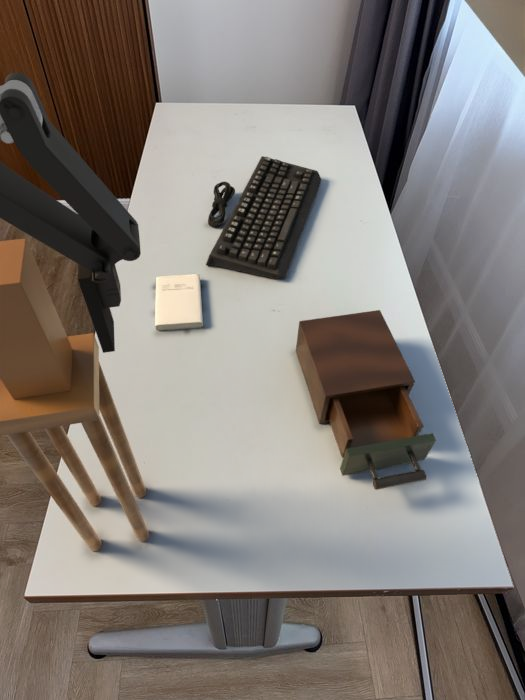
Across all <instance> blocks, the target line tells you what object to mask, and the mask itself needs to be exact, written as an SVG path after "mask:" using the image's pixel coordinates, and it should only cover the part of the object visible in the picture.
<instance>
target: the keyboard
mask: <svg viewBox="0 0 525 700" xmlns="http://www.w3.org/2000/svg"><path fill="white" fill-rule="evenodd" d="M321 183H322V178H321V176H320V173H319V171H318V170H316V169H312V168H307V167H305V166H300V165H297V164H293V163H289V162H286V161H281V160H280V159H277V158H272V157H269V156H263V155H262V156H260V158H259V160H258V162H257V165H256V167H255V168H254V170H253V171H252V173H251V176H250V177H249V180H248V182H247V184H246V185H245V187H244V189H243V191H242V193H241V195H240V197H239V199H238V202H237V204H236V205H235V206H234V208H233V210H232V212H231V214H230V216H229V217H228V219H227V221H226V223H225V225H224V227H223V228H222V231H221V232H220V235H219V236H218V237H217V240H216V241H215V244H214V246H213V248H212V250H211V252H210V253H209V255H208V257H207V260H206V263H205V266H207V267H209V266H214V267H219V268H224V269H228V270H233V271H238V272H242V273H246V274H252V275H256V276H260V277H265V278H269V279H276V280H277V279H280V278H281V279H286V277H287V276H288V274H289V270H290V267H291V264H292V261H293V258H294V256H295V253H296V251H297V248H298V245H299V243H300V239H301V237H302V234H303V231H304V228H305V226H306V223H307V220H308V218H309V215H310V212H311V209H312V207H313V204H314V202H315V200H316V197H317V194H318V191H319V188H320V186H321ZM222 186H224V188H222V189H221V191H220V189H219V188H221V187H222ZM235 193H236V189H235V187H233V186H232V185H231V184H230V182H228V181H221V182H219V183H216V184H215V185H214V187H213V195H214V197H213V202H212V204H211V207H212V208H211V210H210V213H209V214H208V219H207V224H208V225H209V227H211V228H217V227H220V226H221V225H223V223H224V222H225V220H226V212H227V211H226V208H227V207H228V202H229V201H230V200H231V199H232V198H233V196H234V195H235ZM218 213H219V215H217V214H218ZM216 215H217V216H216Z"/></svg>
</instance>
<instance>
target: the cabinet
mask: <svg viewBox="0 0 525 700" xmlns="http://www.w3.org/2000/svg"><path fill="white" fill-rule="evenodd" d="M295 344H296V346H295V353H296V357H297V359H298V364H299V366H300V369H301V371H302V374H303V379H304V381H305V384H306V388H307V391H308V394H309V396H310V400H311V403H312V406H313V409H314V412H315V415H316V419H317V421H318V425H321V424H326V423H330V421H329V418H328V415H327V409H328V405H329V400H330V398H334V397H340V396H347V395H353V394H359V393H365V392H371V391H377V390H383V389H389V388H395V387H401V386H405V388H406V390H407V392H408V395H409V396H410V394H411V393H412V392H411V391H412V389H413V387H414V385H415V383H416V380H415V378H414V376H413V374H412V372H411V370H410V368H409V365H408V364H407V362H406V360H405V358H404V356H403V354H402V352H401V350H400V348H399V346H398V343H397V342H396V340H395V338H394V336H393V334H392V332H391V330H390V328H389V325H388V323H387V321H386V319H385V318H384V315H383V313H382V311H381V310H380V309H377V310H369V311H363V312H362V311H361V312H356V313H348V314H347V313H346V314H341V315H333V316H327V317H320V318H313V319H306V320H299V322H298V328H297V337H296V343H295Z"/></svg>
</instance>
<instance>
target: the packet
mask: <svg viewBox="0 0 525 700" xmlns="http://www.w3.org/2000/svg"><path fill="white" fill-rule="evenodd" d="M0 379H1V381H2V382H3V384H4V385H5V387H6V389H7V390H8V392H9V393H10V395H11V396H12V398H13V399H20V398H26V397H33V396H39V395H46V394H53V393H59V392H66V391H71V380H72V347H71V344H70V342H69V340H68V335H67V333H66V330H65V328H64V326H63V323H62V321H61V319H60V316H59V313H58V312H57V309H56V307H55V304H54V302H53V299H52V297H51V295H50V292H49V289H48V287H47V285H46V282H45V280H44V278H43V276H42V273H41V270H40V269H39V266H38V263H37V261H36V259H35V257H34V254H33V252H32V249H31V246H30V244H29V242H28V240H27V238H18V239H8V240H0Z"/></svg>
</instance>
